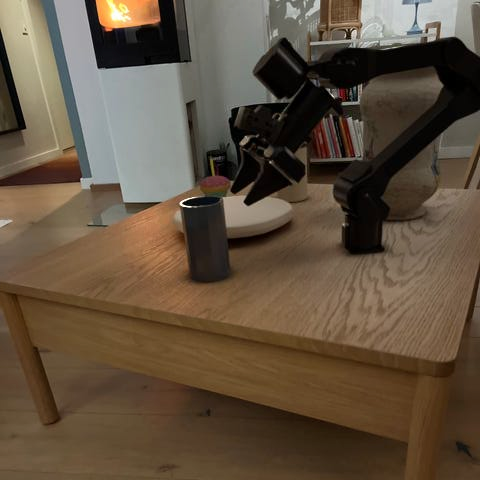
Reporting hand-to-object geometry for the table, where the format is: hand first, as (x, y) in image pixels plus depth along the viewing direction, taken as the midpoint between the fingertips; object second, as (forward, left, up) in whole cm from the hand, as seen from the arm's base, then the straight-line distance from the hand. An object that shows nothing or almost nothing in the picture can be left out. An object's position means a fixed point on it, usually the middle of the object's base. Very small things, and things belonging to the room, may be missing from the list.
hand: (238, 198), depth 80 cm
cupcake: (+3, -51, -13) cm, 53 cm away
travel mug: (-17, -46, -13) cm, 50 cm away
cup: (+6, +1, -13) cm, 14 cm away
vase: (-37, -24, -13) cm, 46 cm away
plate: (0, -25, -13) cm, 28 cm away
